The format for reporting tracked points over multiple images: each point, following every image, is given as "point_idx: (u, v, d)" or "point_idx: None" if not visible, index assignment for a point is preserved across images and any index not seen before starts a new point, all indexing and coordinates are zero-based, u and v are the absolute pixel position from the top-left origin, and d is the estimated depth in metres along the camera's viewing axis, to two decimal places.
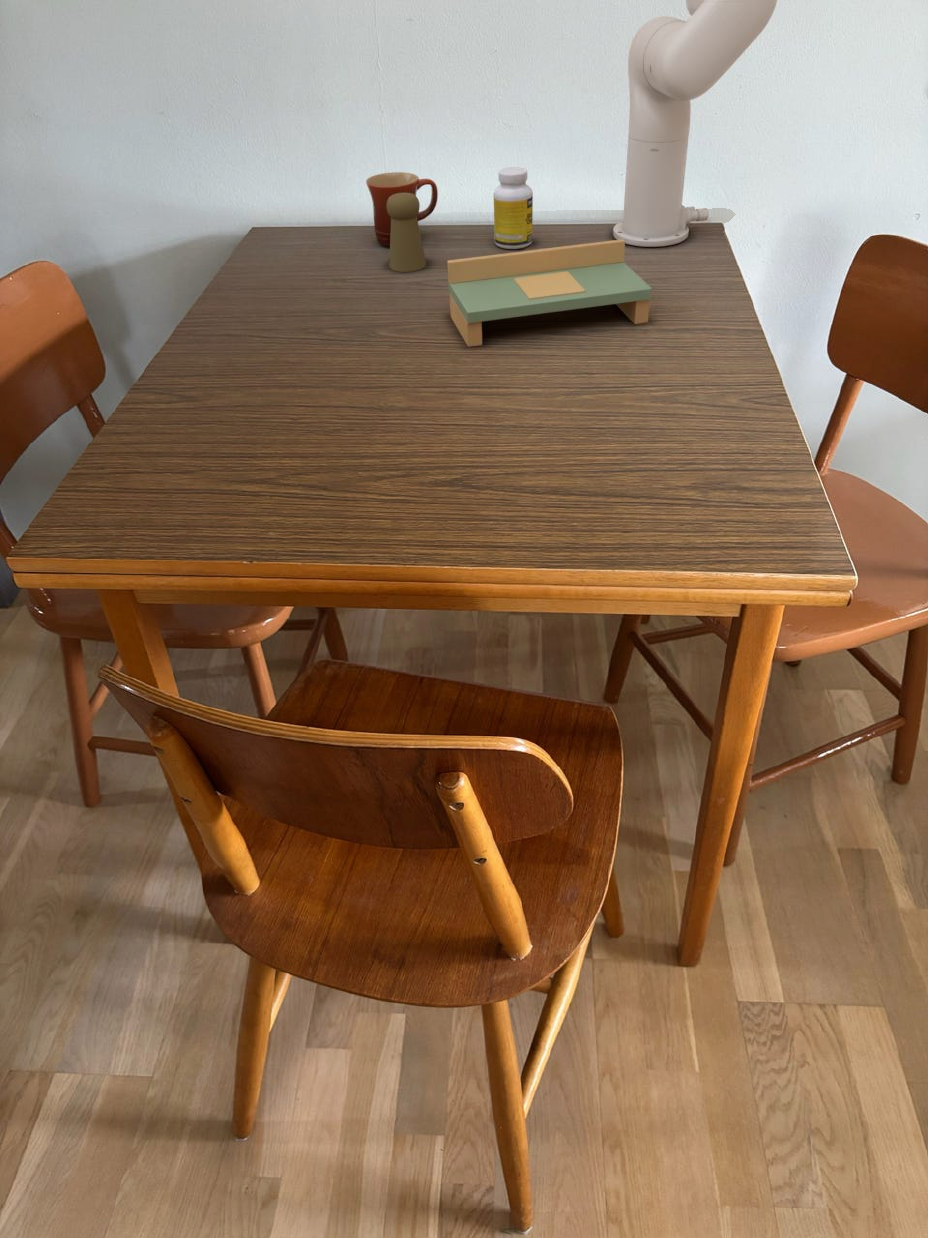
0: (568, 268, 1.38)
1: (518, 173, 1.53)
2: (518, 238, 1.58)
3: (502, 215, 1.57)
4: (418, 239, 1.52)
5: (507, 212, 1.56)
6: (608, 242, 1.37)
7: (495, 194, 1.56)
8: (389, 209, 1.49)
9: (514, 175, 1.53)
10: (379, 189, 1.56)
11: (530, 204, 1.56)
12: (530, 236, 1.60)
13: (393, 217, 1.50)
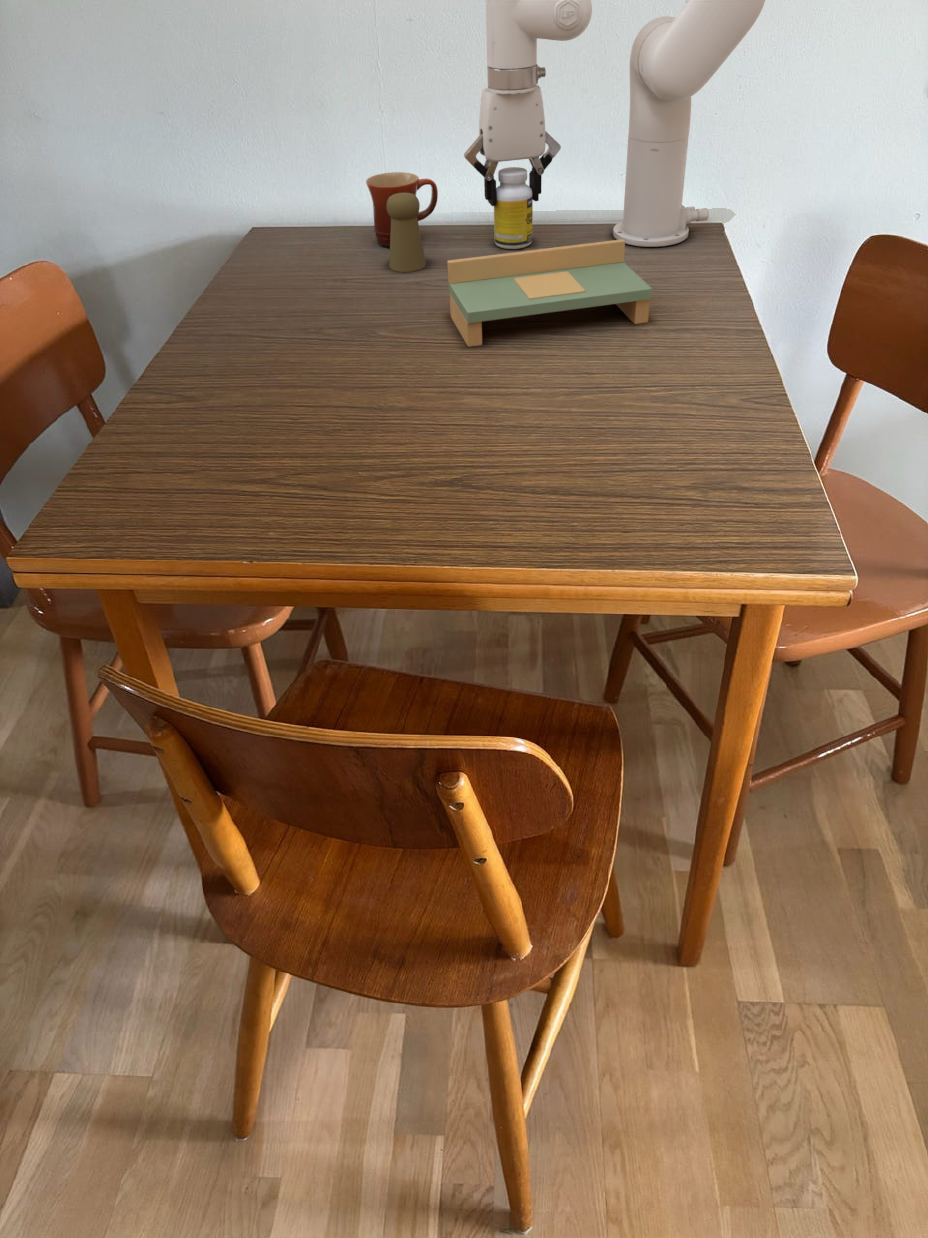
0: (568, 268, 1.38)
1: (518, 173, 1.53)
2: (518, 238, 1.58)
3: (502, 215, 1.57)
4: (418, 239, 1.52)
5: (507, 212, 1.56)
6: (608, 242, 1.37)
7: None
8: (389, 209, 1.49)
9: (514, 175, 1.53)
10: (379, 189, 1.56)
11: (530, 204, 1.56)
12: (530, 236, 1.60)
13: (393, 217, 1.50)
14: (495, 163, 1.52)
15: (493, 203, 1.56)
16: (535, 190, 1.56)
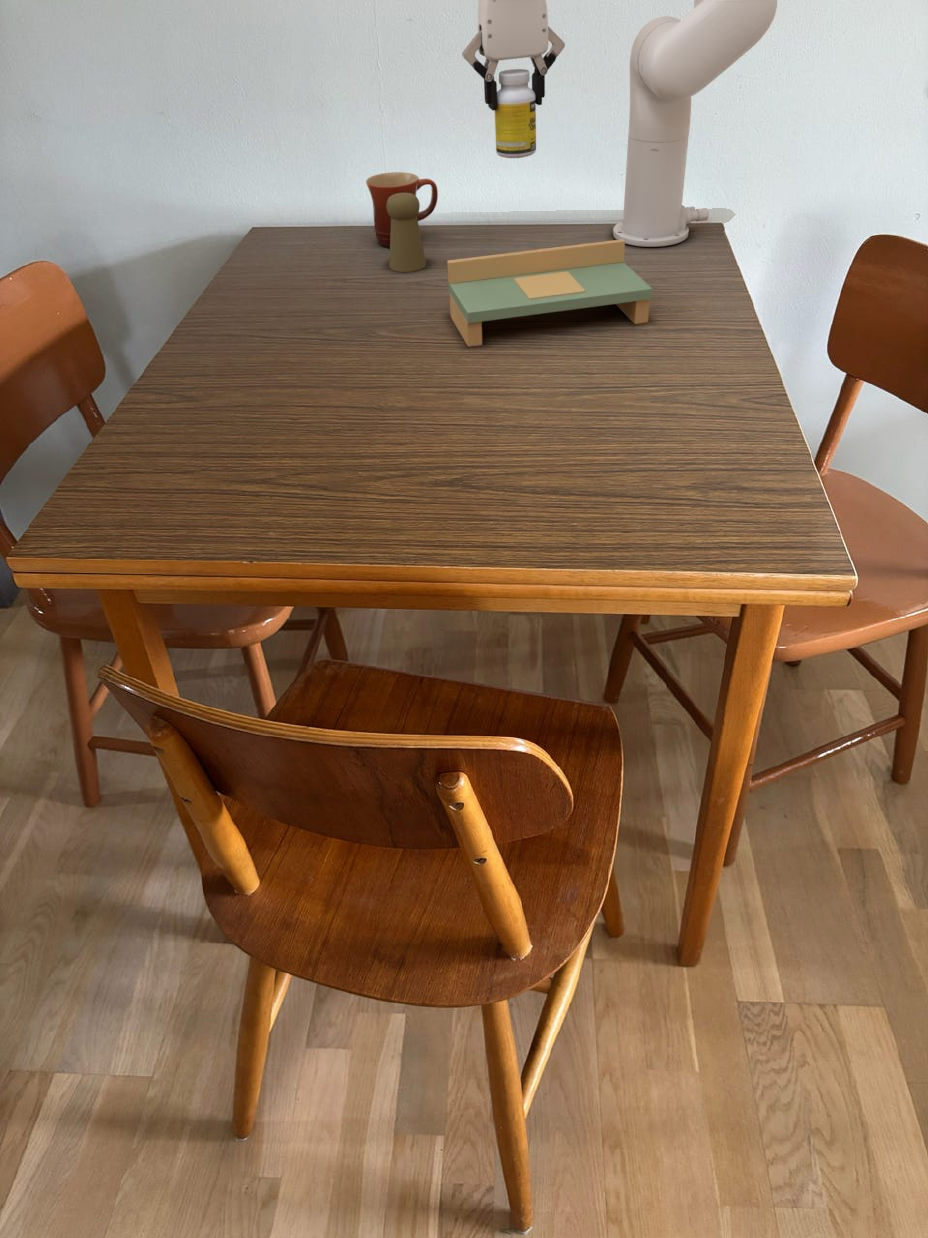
0: (568, 268, 1.38)
1: (520, 73, 1.44)
2: (521, 145, 1.49)
3: (503, 120, 1.48)
4: (418, 239, 1.52)
5: (509, 116, 1.47)
6: (608, 242, 1.37)
7: None
8: (389, 209, 1.49)
9: (515, 75, 1.44)
10: (379, 189, 1.56)
11: (533, 108, 1.47)
12: (534, 144, 1.51)
13: (393, 217, 1.50)
14: (495, 62, 1.43)
15: (494, 107, 1.47)
16: (538, 92, 1.47)
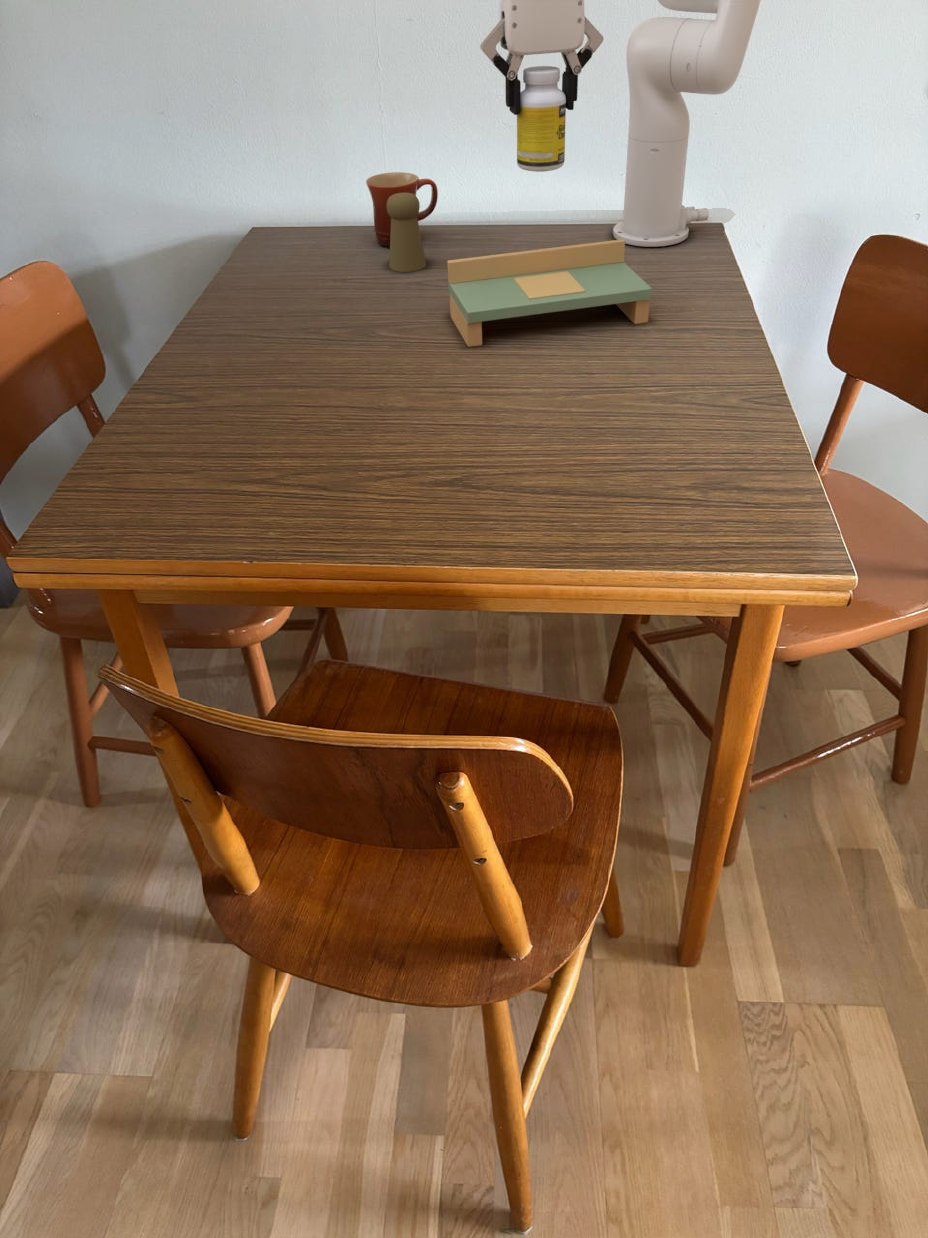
0: (568, 268, 1.38)
1: (548, 71, 1.21)
2: (547, 156, 1.26)
3: (527, 127, 1.24)
4: (418, 239, 1.52)
5: (534, 122, 1.23)
6: (608, 242, 1.37)
7: None
8: (389, 209, 1.49)
9: (543, 73, 1.21)
10: (379, 189, 1.56)
11: (563, 113, 1.24)
12: (562, 155, 1.27)
13: (393, 217, 1.50)
14: (520, 57, 1.20)
15: (516, 111, 1.23)
16: (570, 95, 1.23)
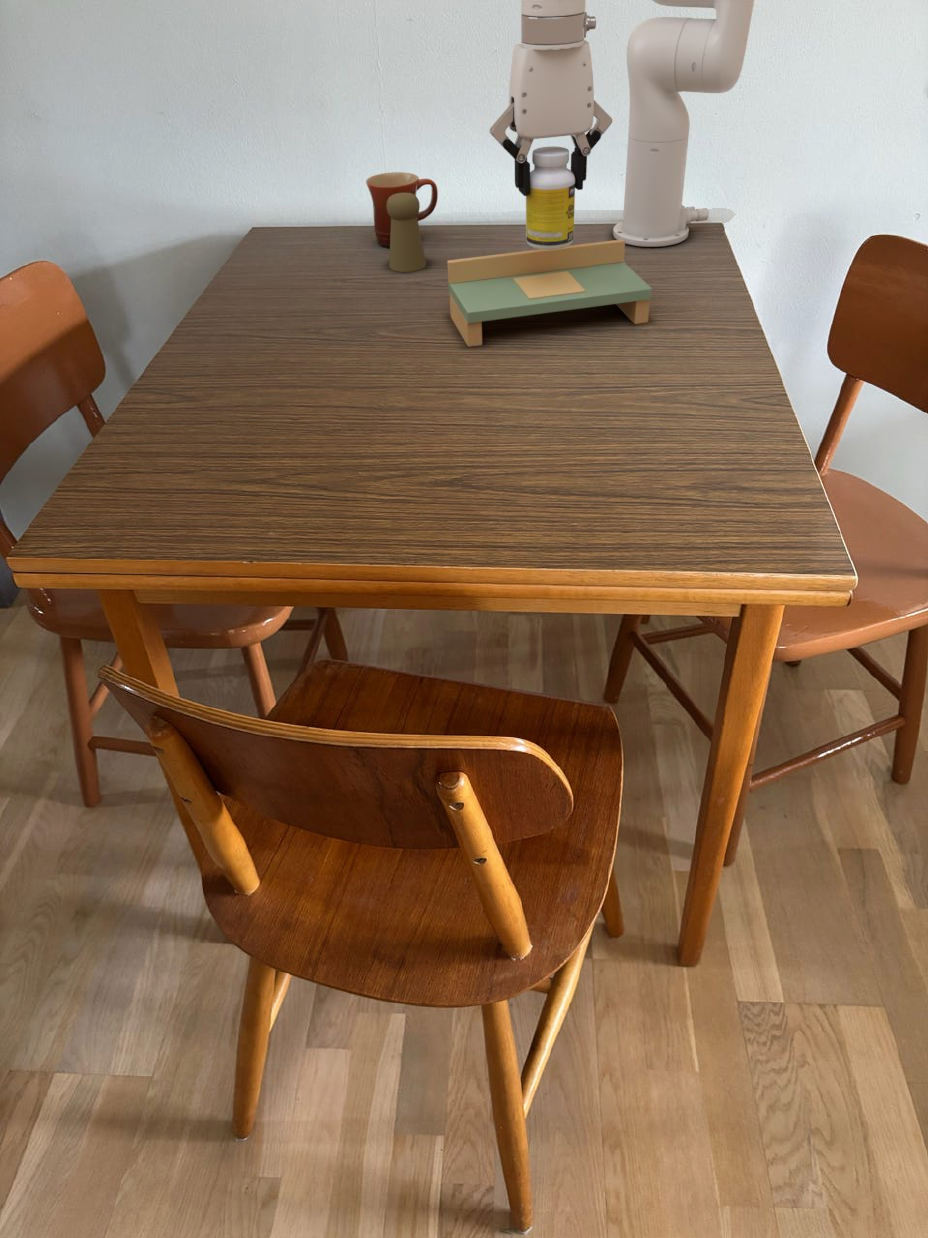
0: (568, 268, 1.38)
1: (558, 153, 1.21)
2: (557, 236, 1.26)
3: (536, 207, 1.24)
4: (418, 239, 1.52)
5: (543, 203, 1.23)
6: (608, 242, 1.37)
7: None
8: (389, 209, 1.49)
9: (553, 156, 1.20)
10: (379, 189, 1.56)
11: (572, 193, 1.24)
12: (571, 234, 1.27)
13: (393, 217, 1.50)
14: (529, 141, 1.19)
15: (526, 192, 1.23)
16: (579, 176, 1.23)
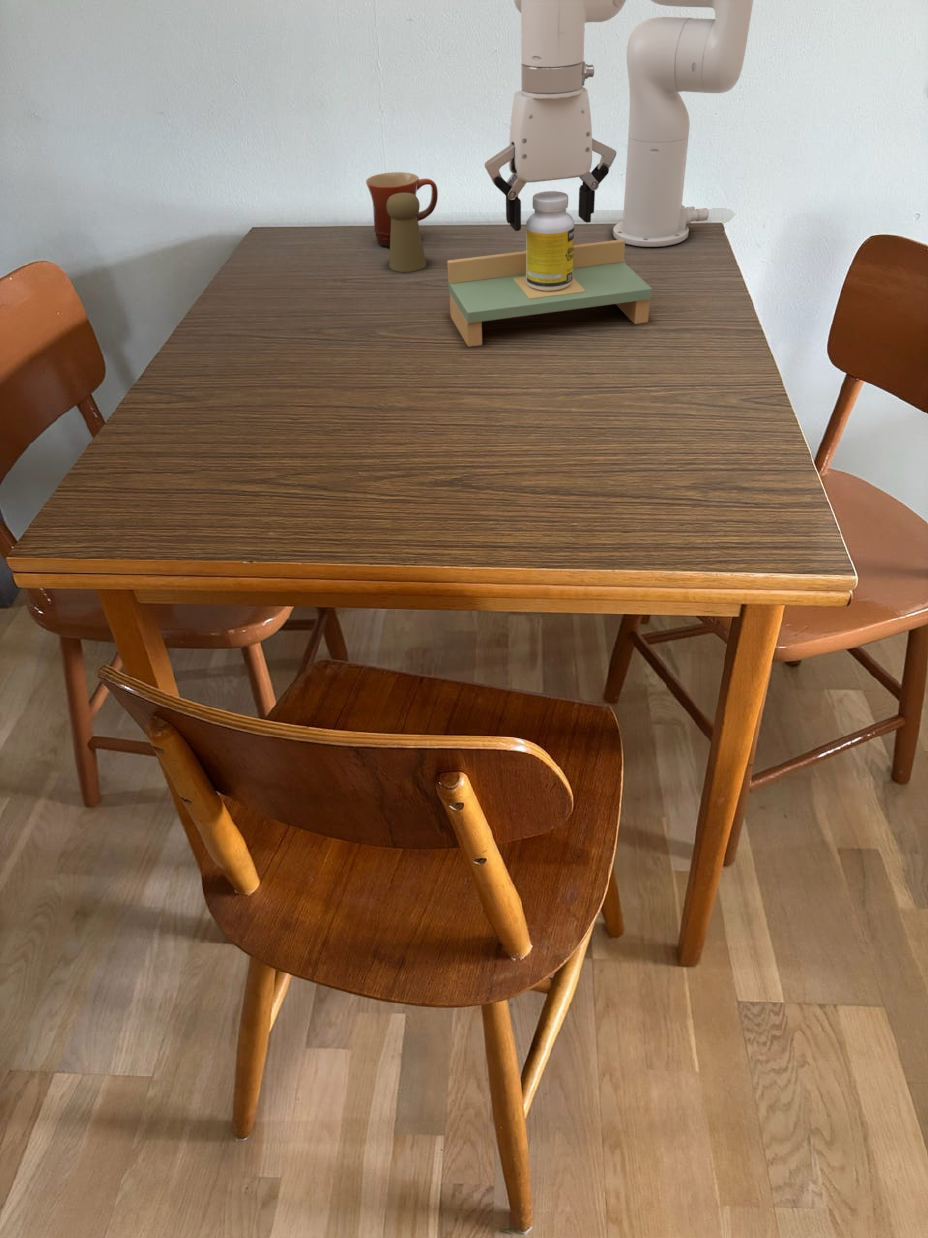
0: None
1: (557, 199, 1.24)
2: (556, 277, 1.29)
3: (536, 250, 1.27)
4: (418, 239, 1.52)
5: (543, 246, 1.27)
6: (608, 242, 1.37)
7: (528, 224, 1.27)
8: (389, 209, 1.49)
9: (553, 202, 1.24)
10: (379, 189, 1.56)
11: (571, 237, 1.27)
12: (570, 275, 1.31)
13: (393, 217, 1.50)
14: None
15: (517, 228, 1.25)
16: (587, 209, 1.26)
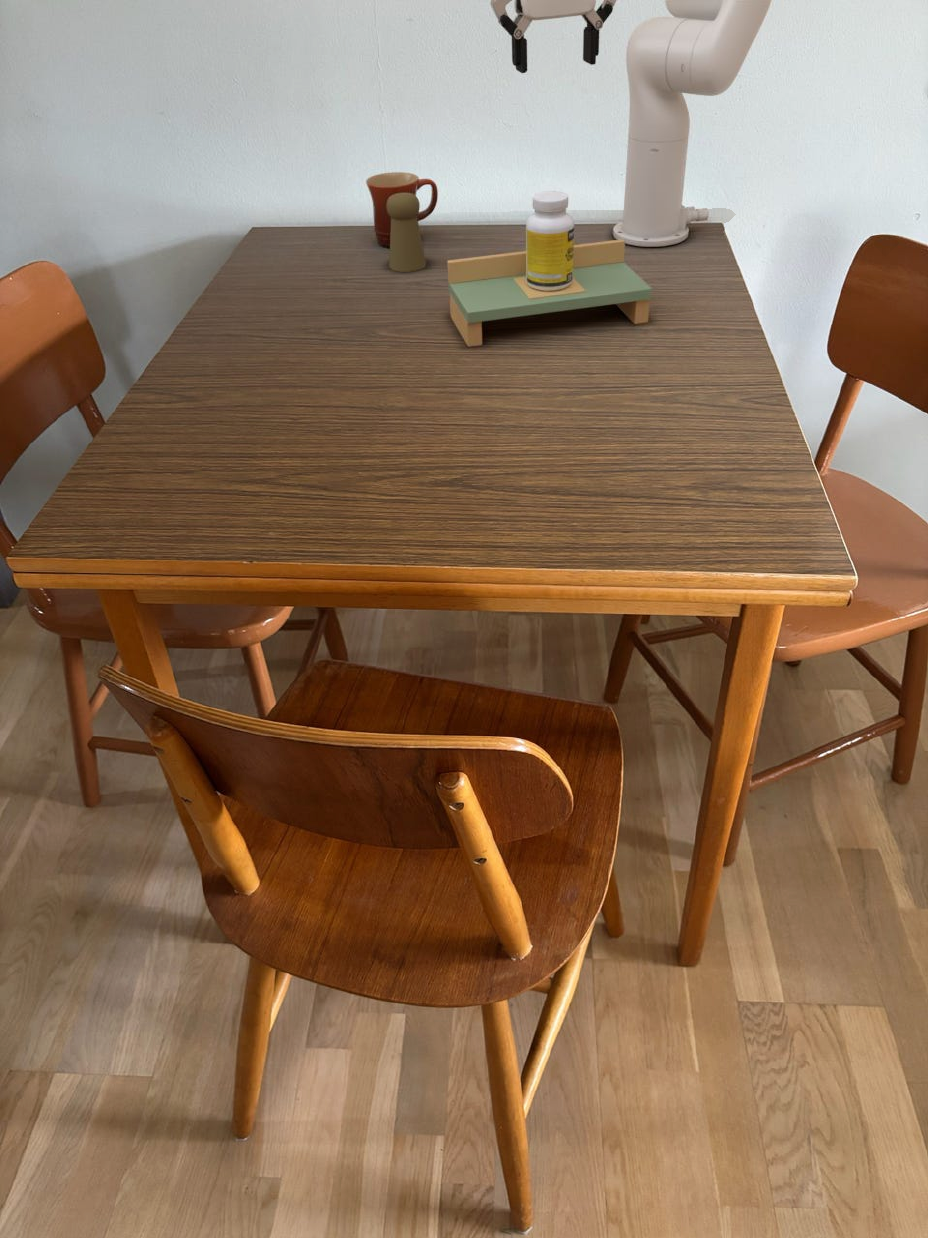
0: None
1: (557, 199, 1.24)
2: (556, 277, 1.29)
3: (536, 250, 1.27)
4: (418, 239, 1.52)
5: (543, 246, 1.27)
6: (608, 242, 1.37)
7: (528, 224, 1.27)
8: (389, 209, 1.49)
9: (553, 202, 1.24)
10: (379, 189, 1.56)
11: (571, 237, 1.27)
12: (570, 275, 1.31)
13: (393, 217, 1.50)
14: (529, 19, 1.24)
15: (523, 69, 1.27)
16: (592, 50, 1.28)
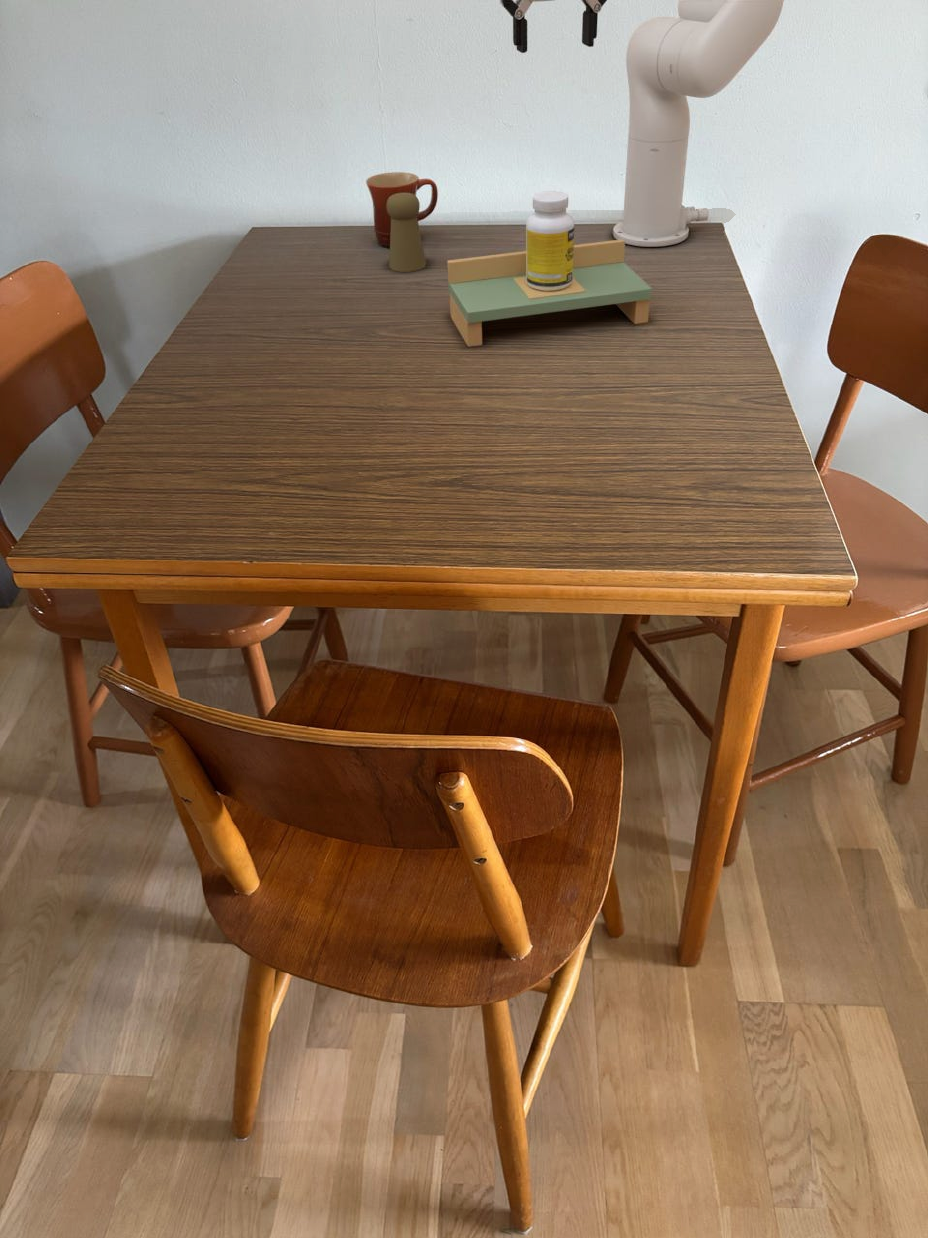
0: None
1: (557, 199, 1.24)
2: (556, 277, 1.29)
3: (536, 250, 1.27)
4: (418, 239, 1.52)
5: (543, 246, 1.27)
6: (608, 242, 1.37)
7: (528, 224, 1.27)
8: (389, 209, 1.49)
9: (553, 202, 1.24)
10: (379, 189, 1.56)
11: (571, 237, 1.27)
12: (570, 275, 1.31)
13: (393, 217, 1.50)
14: (530, 0, 1.29)
15: (523, 49, 1.32)
16: (590, 32, 1.33)
